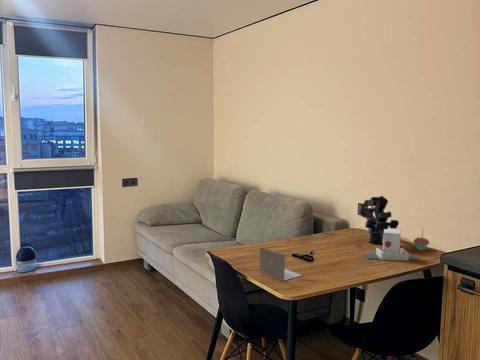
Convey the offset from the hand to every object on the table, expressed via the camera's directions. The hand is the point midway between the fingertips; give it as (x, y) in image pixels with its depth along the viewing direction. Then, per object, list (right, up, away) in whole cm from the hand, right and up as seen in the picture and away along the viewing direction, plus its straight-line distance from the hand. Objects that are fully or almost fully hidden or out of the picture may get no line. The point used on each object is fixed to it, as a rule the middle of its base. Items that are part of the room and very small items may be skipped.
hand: (384, 236), depth 259 cm
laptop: (-66, -14, -44) cm, 80 cm away
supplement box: (-1, -10, -13) cm, 16 cm away
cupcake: (+24, -9, +4) cm, 26 cm away
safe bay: (0, -10, -14) cm, 17 cm away
